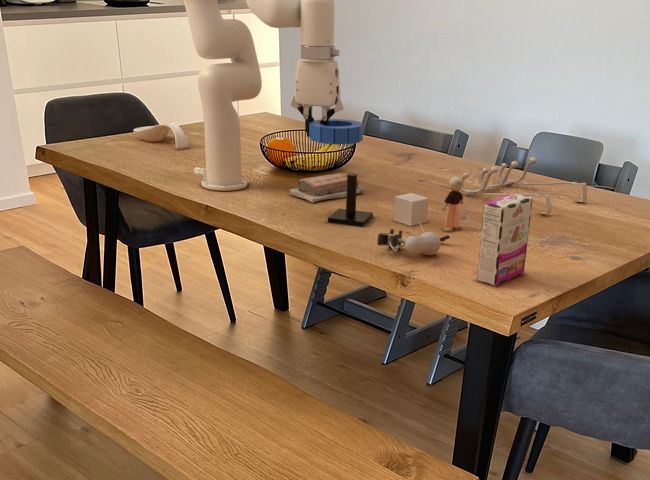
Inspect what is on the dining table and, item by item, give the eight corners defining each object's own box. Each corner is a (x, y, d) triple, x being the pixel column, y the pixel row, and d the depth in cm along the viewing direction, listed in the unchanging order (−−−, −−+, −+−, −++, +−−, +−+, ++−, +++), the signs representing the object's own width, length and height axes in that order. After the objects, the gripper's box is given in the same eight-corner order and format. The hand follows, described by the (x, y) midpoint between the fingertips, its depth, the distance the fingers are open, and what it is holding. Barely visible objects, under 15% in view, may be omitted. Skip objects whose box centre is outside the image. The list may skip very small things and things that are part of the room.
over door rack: (501, 182, 244) (505, 149, 239) (588, 203, 226) (594, 167, 222) (457, 194, 229) (460, 159, 225) (547, 217, 212) (552, 179, 208)
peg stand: (327, 222, 201) (328, 176, 196) (338, 213, 208) (340, 168, 203) (362, 226, 199) (364, 180, 193) (372, 217, 206) (375, 172, 201)
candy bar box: (504, 268, 176) (513, 192, 169) (524, 274, 173) (534, 197, 166) (474, 280, 169) (483, 201, 161) (494, 287, 166) (504, 207, 158)
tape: (302, 141, 192) (302, 125, 190) (320, 132, 202) (320, 117, 201) (353, 146, 189) (353, 130, 187) (368, 136, 199) (368, 121, 198)
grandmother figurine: (451, 233, 197) (456, 180, 191) (437, 230, 198) (442, 178, 192) (465, 226, 202) (471, 174, 196) (451, 223, 204) (456, 172, 198)
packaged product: (340, 168, 230) (364, 176, 224) (340, 186, 232) (363, 194, 226) (289, 177, 219) (312, 185, 213) (289, 195, 222) (312, 203, 215)
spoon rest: (127, 139, 277) (125, 117, 273) (157, 135, 284) (155, 113, 281) (168, 151, 263) (167, 128, 259) (198, 146, 270) (197, 124, 267)
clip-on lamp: (415, 249, 194) (372, 250, 180) (418, 222, 193) (375, 221, 178) (459, 256, 188) (417, 257, 173) (462, 228, 186) (420, 227, 172)
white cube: (409, 216, 208) (411, 192, 206) (426, 222, 205) (428, 198, 202) (393, 220, 205) (394, 196, 202) (410, 226, 201) (412, 201, 198)
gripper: (355, 54, 189) (353, 136, 198) (290, 50, 193) (291, 130, 202) (345, 57, 183) (344, 142, 191) (278, 53, 187) (279, 136, 195)
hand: (316, 135), depth 196 cm, fingers closed on tape, 2 cm apart
